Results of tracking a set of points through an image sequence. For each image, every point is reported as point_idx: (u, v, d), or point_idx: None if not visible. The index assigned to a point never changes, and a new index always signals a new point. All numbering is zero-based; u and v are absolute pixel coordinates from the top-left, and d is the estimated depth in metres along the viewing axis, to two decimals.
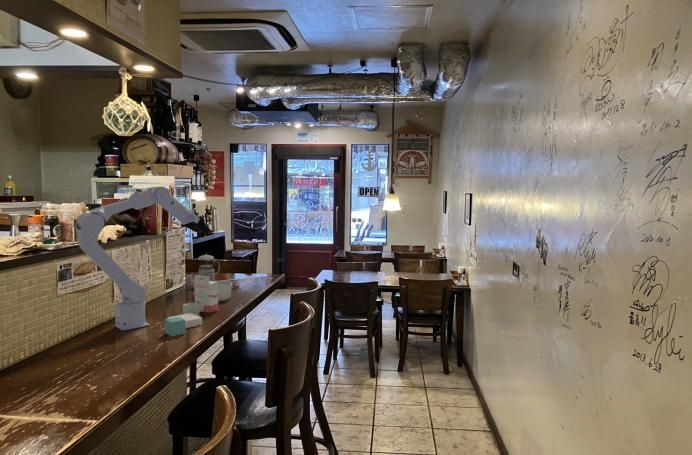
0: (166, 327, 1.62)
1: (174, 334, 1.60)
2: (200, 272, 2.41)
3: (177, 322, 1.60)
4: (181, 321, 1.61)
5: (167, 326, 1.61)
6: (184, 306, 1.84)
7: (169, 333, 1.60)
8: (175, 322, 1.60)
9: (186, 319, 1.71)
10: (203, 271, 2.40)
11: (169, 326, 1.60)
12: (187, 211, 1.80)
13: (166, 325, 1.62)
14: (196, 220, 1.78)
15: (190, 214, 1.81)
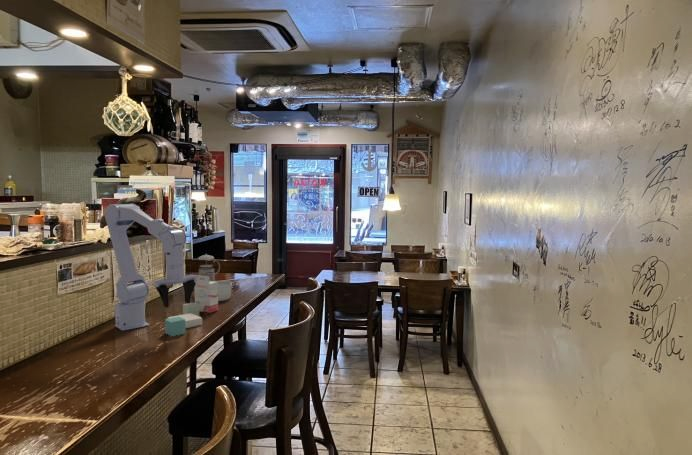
0: (166, 327, 1.62)
1: (174, 334, 1.60)
2: (200, 272, 2.41)
3: (177, 322, 1.60)
4: (181, 321, 1.61)
5: (167, 326, 1.61)
6: (184, 306, 1.84)
7: (169, 333, 1.60)
8: (175, 322, 1.60)
9: (186, 319, 1.71)
10: (203, 271, 2.40)
11: (169, 326, 1.60)
12: (170, 273, 1.59)
13: (166, 325, 1.62)
14: (154, 284, 1.57)
15: (169, 278, 1.59)
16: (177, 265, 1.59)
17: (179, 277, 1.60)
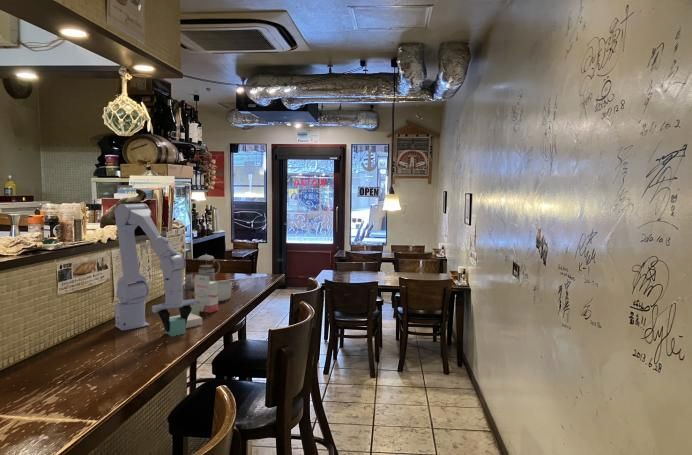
0: None
1: (174, 334, 1.60)
2: (200, 272, 2.41)
3: (177, 322, 1.60)
4: (181, 321, 1.61)
5: None
6: None
7: (169, 333, 1.60)
8: (175, 322, 1.60)
9: None
10: (203, 271, 2.40)
11: (169, 326, 1.60)
12: (168, 298, 1.59)
13: None
14: (152, 309, 1.57)
15: (168, 303, 1.59)
16: (176, 291, 1.59)
17: (177, 302, 1.60)
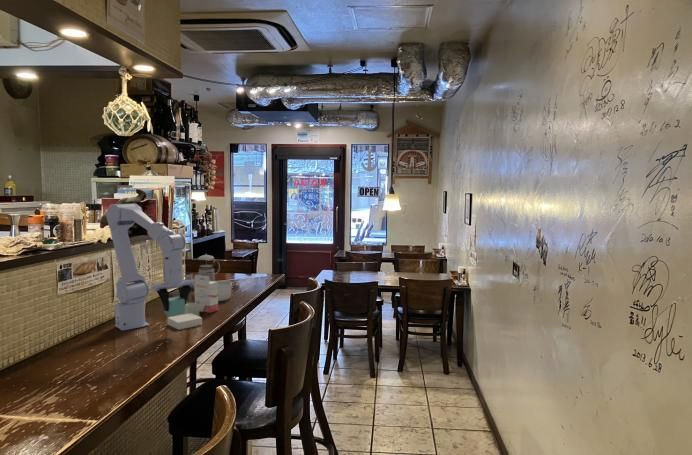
0: None
1: (173, 313, 1.60)
2: (200, 272, 2.41)
3: (176, 301, 1.60)
4: (180, 300, 1.61)
5: None
6: None
7: (168, 312, 1.60)
8: (174, 301, 1.59)
9: (186, 319, 1.71)
10: (203, 271, 2.40)
11: None
12: (167, 278, 1.59)
13: None
14: (151, 288, 1.57)
15: (167, 282, 1.59)
16: (175, 270, 1.59)
17: (177, 282, 1.59)
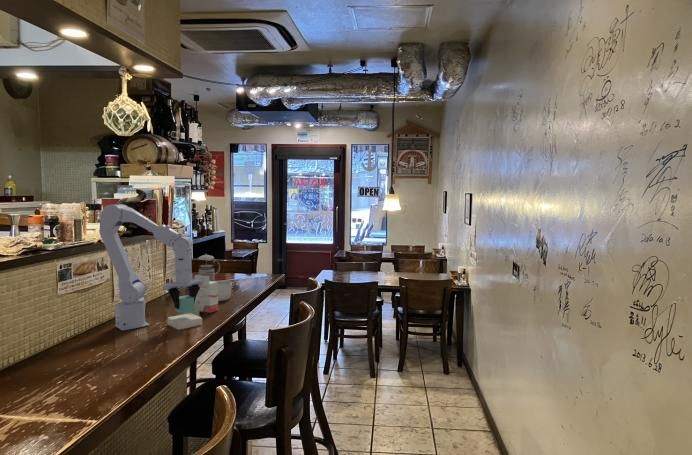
0: None
1: (184, 311, 1.70)
2: (200, 272, 2.41)
3: (186, 299, 1.71)
4: (190, 299, 1.71)
5: None
6: None
7: (179, 310, 1.70)
8: (184, 299, 1.70)
9: (186, 319, 1.71)
10: (203, 271, 2.40)
11: (179, 303, 1.70)
12: (178, 277, 1.69)
13: None
14: (163, 287, 1.67)
15: (178, 282, 1.69)
16: (189, 269, 1.70)
17: (187, 281, 1.70)
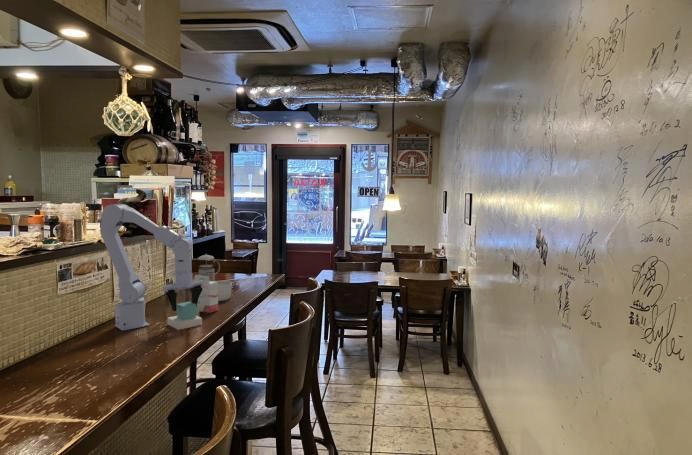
0: (178, 311, 1.72)
1: (186, 317, 1.71)
2: (200, 272, 2.41)
3: (189, 306, 1.71)
4: (192, 305, 1.72)
5: (179, 310, 1.72)
6: None
7: (181, 317, 1.71)
8: (187, 306, 1.71)
9: None
10: (203, 271, 2.40)
11: (181, 310, 1.70)
12: (178, 279, 1.69)
13: (178, 309, 1.72)
14: (163, 289, 1.68)
15: (178, 283, 1.69)
16: (189, 271, 1.71)
17: (187, 283, 1.70)
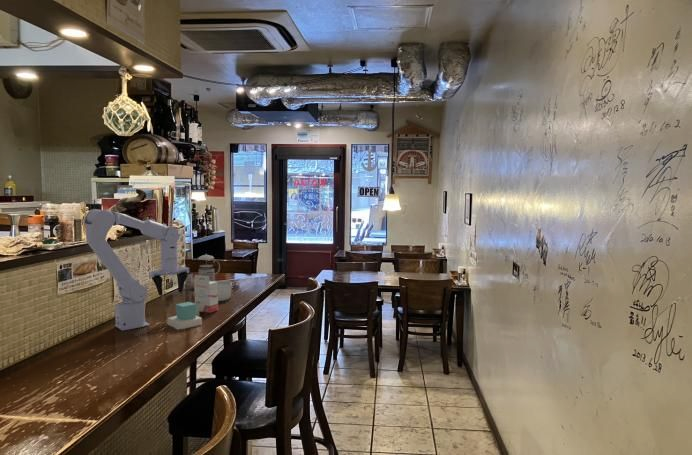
0: (177, 311, 1.72)
1: (185, 318, 1.70)
2: (200, 272, 2.41)
3: (188, 306, 1.71)
4: (192, 306, 1.72)
5: (178, 311, 1.72)
6: None
7: (181, 317, 1.71)
8: (186, 306, 1.70)
9: None
10: (203, 271, 2.40)
11: (181, 310, 1.70)
12: (164, 265, 1.78)
13: (177, 309, 1.72)
14: (149, 274, 1.76)
15: (163, 269, 1.78)
16: None
17: (172, 269, 1.79)
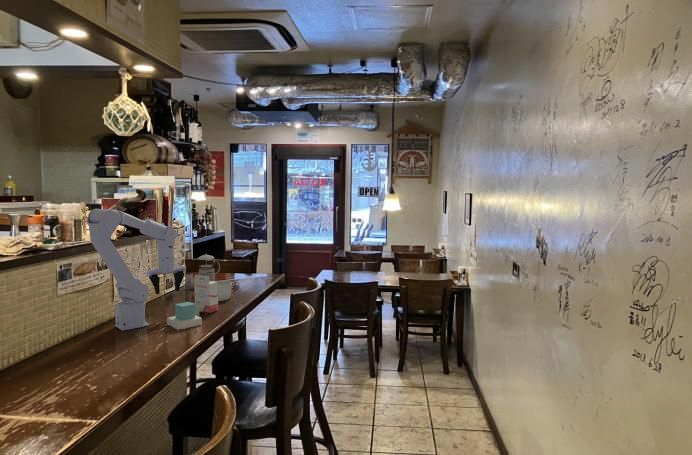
0: (177, 311, 1.72)
1: (185, 318, 1.70)
2: (200, 272, 2.41)
3: (187, 306, 1.71)
4: (191, 306, 1.72)
5: (177, 311, 1.72)
6: None
7: (180, 317, 1.70)
8: (186, 306, 1.70)
9: None
10: (203, 271, 2.40)
11: (180, 310, 1.70)
12: (161, 264, 1.80)
13: (177, 309, 1.72)
14: (147, 273, 1.78)
15: (161, 268, 1.80)
16: (173, 256, 1.84)
17: (169, 268, 1.81)
